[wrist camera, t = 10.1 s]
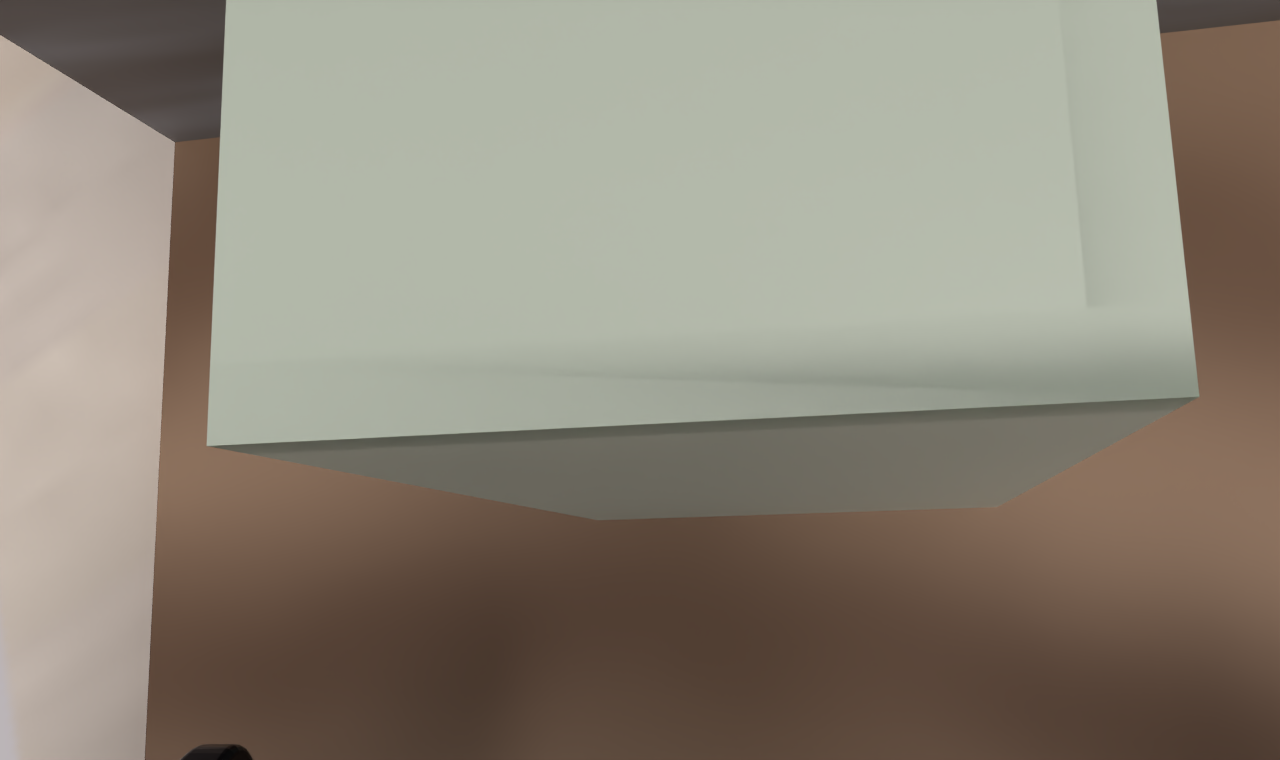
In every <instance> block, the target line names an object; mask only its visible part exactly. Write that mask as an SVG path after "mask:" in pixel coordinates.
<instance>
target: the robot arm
mask: <svg viewBox="0 0 1280 760" xmlns="http://www.w3.org/2000/svg"><path fill="white" fill-rule="evenodd" d="M180 760H253V758H252V757H251V755H250V753H249V752H248V750H247V749H246V748H245V747H243V746H241V745H239V744H203V745H199V746H197V747H195V748H193V749H192V750H190V751H189V752H188V753H186V754H185V755H184V756H183V757H182V758H181V759H180Z"/></svg>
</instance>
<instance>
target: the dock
mask: <svg viewBox="0 0 1280 760" xmlns="http://www.w3.org/2000/svg"><path fill="white" fill-rule="evenodd" d="M1156 2H1157V11H1158V20H1159V30H1160V39H1161V48H1162V57H1163V66H1164V76H1165V85H1166V94H1167V103H1168V112H1169V122H1170V131H1171V140H1172V149H1173V158H1174V167H1175V177H1176V186H1177V195H1178V204H1179V213H1180V223H1181V232H1182V241H1183V250H1184V259H1185V269H1186V278H1187V287H1188V296H1189V305H1190V314H1191V324H1192V333H1193V342H1194V351H1195V360H1196V370H1197V379H1198V388H1199V397H1198V398H1196V399H1194V400H1193V401H1191V402H1189V403H1187V404H1185V405H1183V406H1182V407H1180V408H1178V409H1176V410H1174V411H1172V412H1171V413H1169V414H1167V415H1165V416H1163V417H1161V418H1160V419H1158V420H1156V421H1154V422H1152V423H1150V424H1149V425H1147V426H1145V427H1143V428H1141V429H1139V430H1138V431H1136V432H1134V433H1132V434H1130V435H1128V436H1127V437H1125V438H1123V439H1121V440H1119V441H1117V442H1116V443H1114V444H1112V445H1110V446H1108V447H1106V448H1105V449H1103V450H1101V451H1099V452H1097V453H1095V454H1094V455H1092V456H1090V457H1088V458H1086V459H1084V460H1083V461H1081V462H1079V463H1077V464H1075V465H1073V466H1072V467H1070V468H1068V469H1066V470H1064V471H1062V472H1061V473H1059V474H1057V475H1055V476H1053V477H1051V478H1050V479H1048V480H1046V481H1044V482H1042V483H1040V484H1039V485H1037V486H1035V487H1033V488H1031V489H1029V490H1028V491H1026V492H1024V493H1022V494H1020V495H1018V496H1017V497H1015V498H1013V499H1011V500H1009V501H1007V502H1006V503H1004V504H1002V505H1000V506H998V507H984V508H954V509H924V510H893V511H863V512H833V513H803V514H772V515H742V516H712V517H682V518H651V519H621V520H594V519H589V518H583V517H578V516H573V515H567V514H562V513H557V512H552V511H546V510H541V509H536V508H531V507H525V506H520V505H515V504H510V503H504V502H499V501H494V500H488V499H483V498H478V497H473V496H467V495H462V494H457V493H452V492H446V491H441V490H436V489H430V488H425V487H420V486H415V485H409V484H404V483H399V482H394V481H388V480H383V479H378V478H372V477H367V476H362V475H357V474H351V473H346V472H341V471H336V470H330V469H325V468H320V467H315V466H309V465H304V464H299V463H293V462H288V461H283V460H278V459H272V458H267V457H262V456H257V455H251V454H246V453H241V452H235V451H230V450H225V449H220V448H214V447H209V446H207V425H208V402H209V379H210V356H211V334H212V311H213V288H214V266H215V243H216V220H217V197H218V175H219V152H220V129H221V107H222V84H223V61H224V38H225V16H226V0H0V35H2V36H3V37H5V38H6V39H8V40H10V41H11V42H13V43H15V44H16V45H18V46H19V47H21V48H23V49H24V50H26V51H28V52H29V53H31V54H33V55H34V56H36V57H37V58H39V59H41V60H42V61H44V62H46V63H47V64H49V65H50V66H52V67H54V68H55V69H57V70H59V71H60V72H62V73H63V74H65V75H67V76H68V77H70V78H72V79H73V80H75V81H76V82H78V83H80V84H81V85H83V86H85V87H86V88H88V89H89V90H91V91H93V92H94V93H96V94H98V95H99V96H101V97H102V98H104V99H106V100H107V101H109V102H111V103H112V104H114V105H115V106H117V107H119V108H120V109H122V110H124V111H125V112H127V113H129V114H130V115H132V116H133V117H135V118H137V119H138V120H140V121H142V122H143V123H145V124H146V125H148V126H150V127H151V128H153V129H155V130H156V131H158V132H159V133H161V134H163V135H164V136H166V137H168V138H169V139H171V140H172V141H174V142H175V155H174V176H173V196H172V216H171V237H170V257H169V278H168V298H167V318H166V339H165V359H164V379H163V400H162V420H161V441H160V461H159V481H158V502H157V522H156V542H155V563H154V583H153V604H152V624H151V644H150V665H149V685H148V705H147V726H146V746H145V760H180V759H181V758H182V757H183V756H184V755H185V754H186V753H188V752H189V751H190V750H192V749H193V748H195V747H197V746H199V745H203V744H239V745H241V746H243V747H245V748H246V749H247V750H248V752H249V753H250V755H251V757H252V758H253V760H1280V0H1156Z"/></svg>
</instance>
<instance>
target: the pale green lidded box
mask: <svg viewBox="0 0 1280 760" xmlns="http://www.w3.org/2000/svg"><path fill="white" fill-rule="evenodd" d="M1198 397H1199V388H1198V379H1197V370H1196V360H1195V351H1194V342H1193V333H1192V324H1191V314H1190V305H1189V296H1188V287H1187V278H1186V269H1185V259H1184V250H1183V241H1182V232H1181V223H1180V213H1179V204H1178V195H1177V186H1176V177H1175V167H1174V158H1173V149H1172V140H1171V131H1170V122H1169V112H1168V103H1167V94H1166V85H1165V76H1164V66H1163V57H1162V48H1161V39H1160V30H1159V20H1158V11H1157V2H1156V0H226V16H225V38H224V61H223V84H222V107H221V129H220V152H219V175H218V197H217V220H216V243H215V266H214V288H213V311H212V334H211V356H210V379H209V402H208V425H207V446H209V447H214V448H220V449H225V450H230V451H235V452H241V453H246V454H251V455H257V456H262V457H267V458H272V459H278V460H283V461H288V462H293V463H299V464H304V465H309V466H315V467H320V468H325V469H330V470H336V471H341V472H346V473H351V474H357V475H362V476H367V477H372V478H378V479H383V480H388V481H394V482H399V483H404V484H409V485H415V486H420V487H425V488H430V489H436V490H441V491H446V492H452V493H457V494H462V495H467V496H473V497H478V498H483V499H488V500H494V501H499V502H504V503H510V504H515V505H520V506H525V507H531V508H536V509H541V510H546V511H552V512H557V513H562V514H567V515H573V516H578V517H583V518H589V519H594V520H621V519H651V518H682V517H712V516H742V515H772V514H803V513H833V512H863V511H893V510H924V509H954V508H984V507H998V506H1000V505H1002V504H1004V503H1006V502H1007V501H1009V500H1011V499H1013V498H1015V497H1017V496H1018V495H1020V494H1022V493H1024V492H1026V491H1028V490H1029V489H1031V488H1033V487H1035V486H1037V485H1039V484H1040V483H1042V482H1044V481H1046V480H1048V479H1050V478H1051V477H1053V476H1055V475H1057V474H1059V473H1061V472H1062V471H1064V470H1066V469H1068V468H1070V467H1072V466H1073V465H1075V464H1077V463H1079V462H1081V461H1083V460H1084V459H1086V458H1088V457H1090V456H1092V455H1094V454H1095V453H1097V452H1099V451H1101V450H1103V449H1105V448H1106V447H1108V446H1110V445H1112V444H1114V443H1116V442H1117V441H1119V440H1121V439H1123V438H1125V437H1127V436H1128V435H1130V434H1132V433H1134V432H1136V431H1138V430H1139V429H1141V428H1143V427H1145V426H1147V425H1149V424H1150V423H1152V422H1154V421H1156V420H1158V419H1160V418H1161V417H1163V416H1165V415H1167V414H1169V413H1171V412H1172V411H1174V410H1176V409H1178V408H1180V407H1182V406H1183V405H1185V404H1187V403H1189V402H1191V401H1193V400H1194V399H1196V398H1198Z"/></svg>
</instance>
